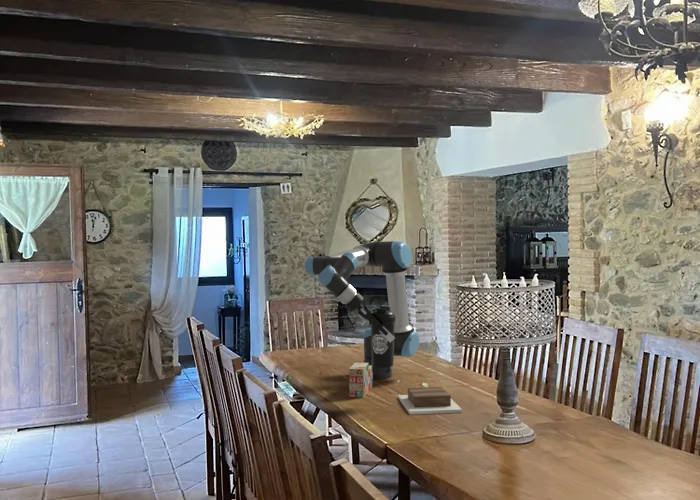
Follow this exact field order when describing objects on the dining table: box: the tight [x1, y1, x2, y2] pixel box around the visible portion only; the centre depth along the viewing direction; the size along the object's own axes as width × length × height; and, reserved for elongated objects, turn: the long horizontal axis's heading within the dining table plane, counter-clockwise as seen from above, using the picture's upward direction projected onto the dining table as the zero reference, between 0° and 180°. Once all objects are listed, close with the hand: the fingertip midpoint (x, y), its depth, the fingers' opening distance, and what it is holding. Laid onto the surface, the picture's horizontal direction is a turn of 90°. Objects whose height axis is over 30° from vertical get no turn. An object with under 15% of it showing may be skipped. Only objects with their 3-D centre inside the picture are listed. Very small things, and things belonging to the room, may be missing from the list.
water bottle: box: [370, 305, 396, 368], centre depth 250 cm, size 10×10×23 cm
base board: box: [398, 394, 463, 416], centre depth 250 cm, size 24×20×1 cm
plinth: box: [407, 386, 452, 407], centre depth 250 cm, size 14×14×4 cm
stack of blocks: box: [348, 362, 374, 399], centre depth 273 cm, size 21×6×12 cm, turn 168°
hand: (390, 337), depth 251 cm, fingers closed on water bottle, 9 cm apart
